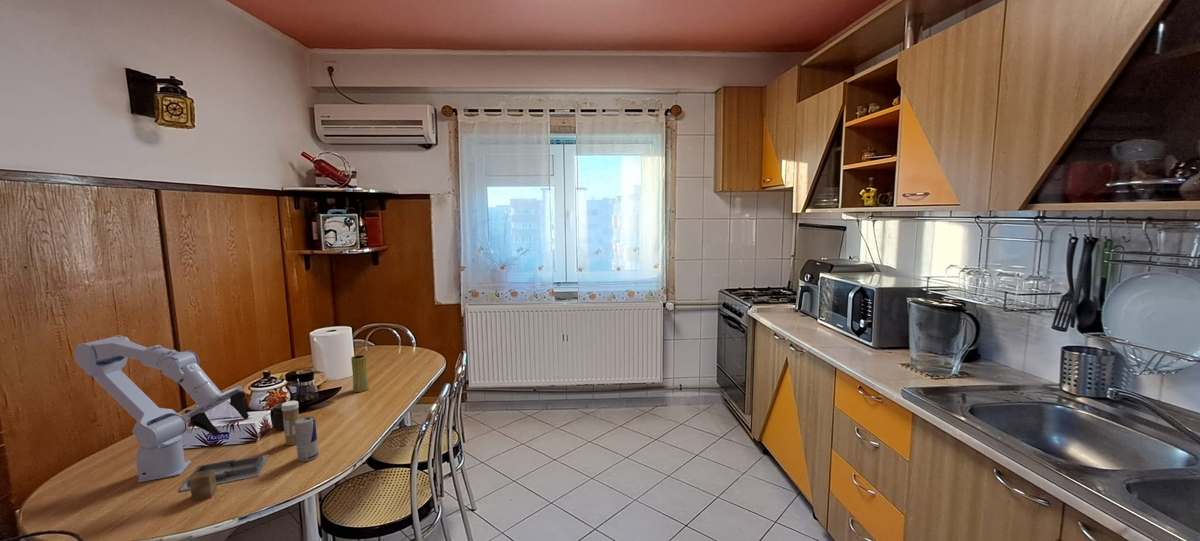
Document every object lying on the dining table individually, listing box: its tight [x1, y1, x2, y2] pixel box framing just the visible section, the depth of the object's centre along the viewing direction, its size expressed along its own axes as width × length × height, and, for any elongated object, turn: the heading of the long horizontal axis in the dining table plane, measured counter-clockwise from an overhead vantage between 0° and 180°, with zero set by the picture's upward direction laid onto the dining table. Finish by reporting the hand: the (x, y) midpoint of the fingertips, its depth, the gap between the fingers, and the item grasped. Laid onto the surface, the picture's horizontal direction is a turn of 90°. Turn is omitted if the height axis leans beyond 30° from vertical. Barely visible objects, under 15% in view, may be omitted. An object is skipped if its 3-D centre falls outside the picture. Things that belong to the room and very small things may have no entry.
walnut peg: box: [190, 469, 218, 503], centre depth 124 cm, size 4×4×6 cm
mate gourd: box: [271, 396, 297, 430], centre depth 164 cm, size 7×8×10 cm
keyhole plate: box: [179, 454, 270, 492], centre depth 135 cm, size 18×12×2 cm
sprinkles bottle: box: [281, 400, 300, 446], centre depth 152 cm, size 5×5×13 cm
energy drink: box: [294, 415, 319, 463], centre depth 142 cm, size 5×5×12 cm
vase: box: [350, 354, 370, 393], centre depth 197 cm, size 6×6×14 cm
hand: (232, 426), depth 131 cm, fingers open, 7 cm apart
